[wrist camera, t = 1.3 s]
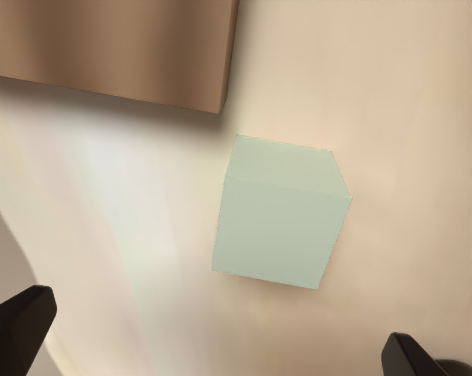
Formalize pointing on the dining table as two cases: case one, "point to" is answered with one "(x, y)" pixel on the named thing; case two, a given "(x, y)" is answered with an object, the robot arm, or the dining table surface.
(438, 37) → the dining table surface
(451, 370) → the supplement bottle
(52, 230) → the dining table surface
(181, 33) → the walnut board
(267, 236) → the sage cube
